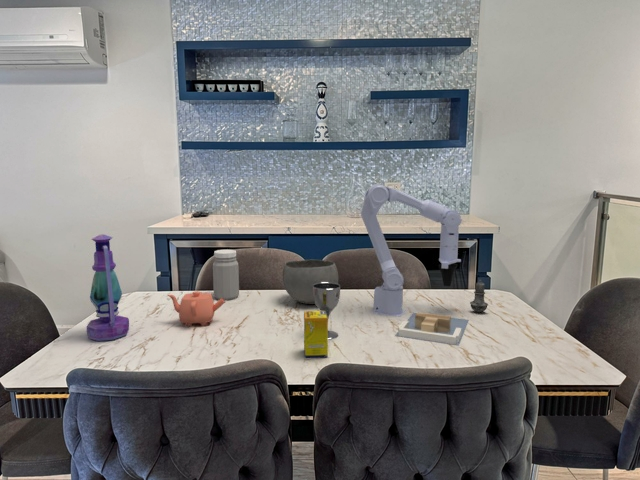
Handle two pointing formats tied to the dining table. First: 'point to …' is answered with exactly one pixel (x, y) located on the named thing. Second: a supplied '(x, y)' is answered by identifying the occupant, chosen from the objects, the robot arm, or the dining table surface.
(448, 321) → the t block
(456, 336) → the dock
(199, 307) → the teapot
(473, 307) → the salt shaker
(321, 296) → the silver goblet
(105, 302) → the lantern
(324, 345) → the supplement box
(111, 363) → the dining table surface
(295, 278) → the bowl
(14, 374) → the dining table surface
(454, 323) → the board
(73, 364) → the dining table surface
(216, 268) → the jar
